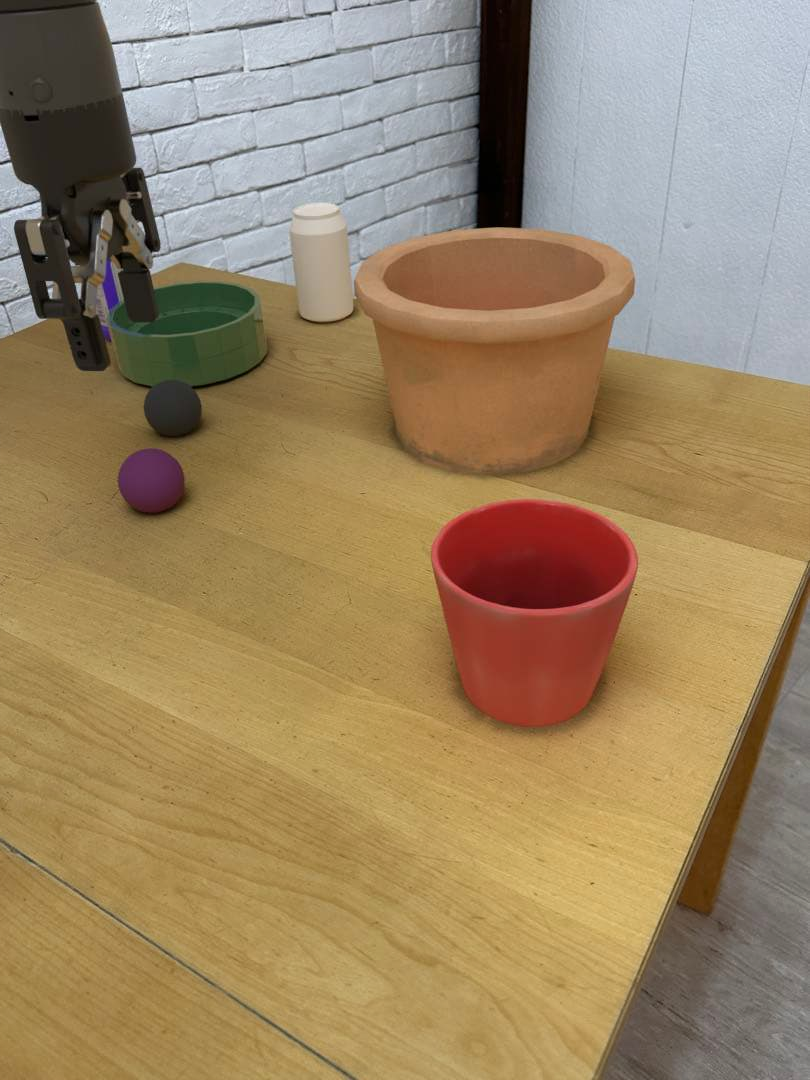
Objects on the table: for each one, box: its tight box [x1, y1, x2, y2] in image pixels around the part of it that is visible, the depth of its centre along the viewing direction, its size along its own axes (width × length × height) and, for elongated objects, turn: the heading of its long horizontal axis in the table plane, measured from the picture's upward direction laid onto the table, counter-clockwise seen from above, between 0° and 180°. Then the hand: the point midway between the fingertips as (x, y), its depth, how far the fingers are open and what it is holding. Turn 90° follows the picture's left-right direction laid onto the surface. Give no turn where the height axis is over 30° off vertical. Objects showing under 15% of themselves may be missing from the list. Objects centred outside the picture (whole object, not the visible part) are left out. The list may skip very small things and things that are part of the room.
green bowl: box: [106, 280, 268, 387], centre depth 93 cm, size 15×15×6 cm
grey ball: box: [143, 380, 203, 438], centre depth 80 cm, size 5×5×5 cm
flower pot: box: [430, 498, 639, 728], centre depth 51 cm, size 11×11×10 cm
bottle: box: [96, 259, 124, 342], centre depth 97 cm, size 7×6×17 cm
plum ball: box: [117, 447, 186, 514], centre depth 70 cm, size 5×5×5 cm
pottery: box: [353, 226, 636, 477], centre depth 75 cm, size 22×22×14 cm
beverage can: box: [288, 202, 354, 323], centre depth 99 cm, size 6×6×12 cm
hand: (121, 343), depth 64 cm, fingers open, 8 cm apart
